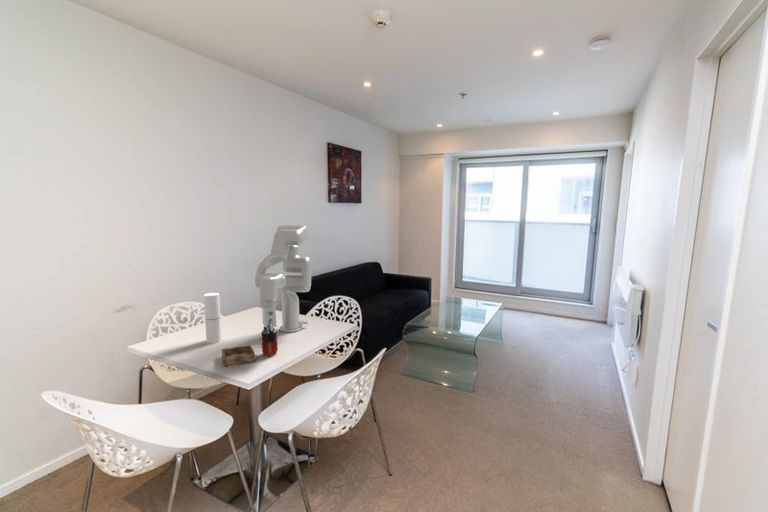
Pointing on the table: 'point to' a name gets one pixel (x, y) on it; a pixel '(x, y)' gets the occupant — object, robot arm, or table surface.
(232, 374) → the table surface
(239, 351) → the tray
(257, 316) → the table surface
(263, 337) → the soda can
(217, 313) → the cylindrical container
